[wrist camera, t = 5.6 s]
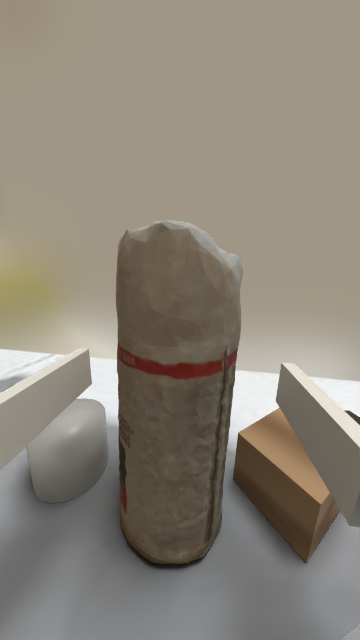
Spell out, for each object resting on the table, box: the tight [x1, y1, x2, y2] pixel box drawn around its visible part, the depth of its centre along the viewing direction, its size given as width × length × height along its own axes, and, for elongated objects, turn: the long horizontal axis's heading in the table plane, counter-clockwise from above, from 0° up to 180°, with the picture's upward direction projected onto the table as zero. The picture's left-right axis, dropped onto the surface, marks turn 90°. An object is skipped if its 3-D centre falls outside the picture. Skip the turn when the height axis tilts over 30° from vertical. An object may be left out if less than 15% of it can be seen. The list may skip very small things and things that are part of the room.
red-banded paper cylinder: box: [116, 220, 243, 564], centre depth 13 cm, size 8×8×20 cm
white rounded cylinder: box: [26, 399, 108, 503], centre depth 17 cm, size 6×6×5 cm
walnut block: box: [233, 408, 340, 563], centre depth 15 cm, size 6×6×5 cm
